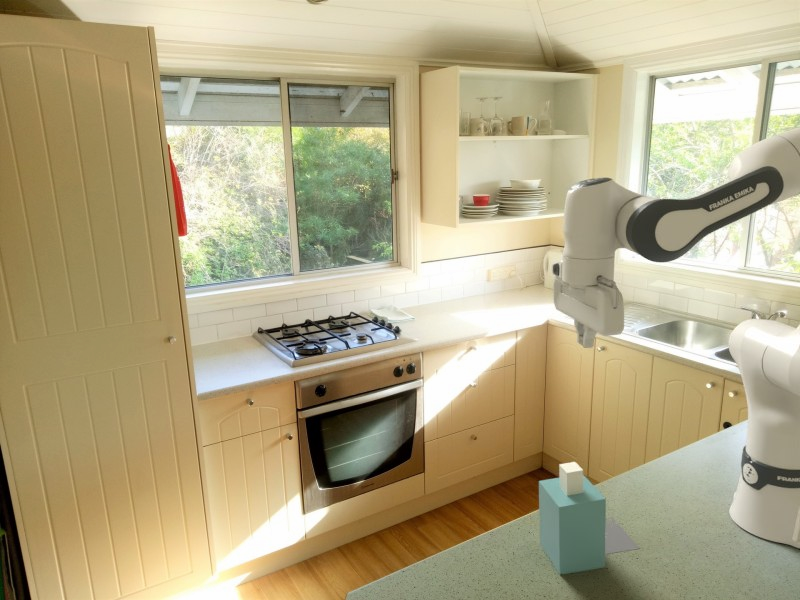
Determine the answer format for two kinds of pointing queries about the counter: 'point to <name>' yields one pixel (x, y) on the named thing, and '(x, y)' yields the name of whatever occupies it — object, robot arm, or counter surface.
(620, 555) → the counter surface
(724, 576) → the counter surface
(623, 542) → the mat
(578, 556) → the cover
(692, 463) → the counter surface
